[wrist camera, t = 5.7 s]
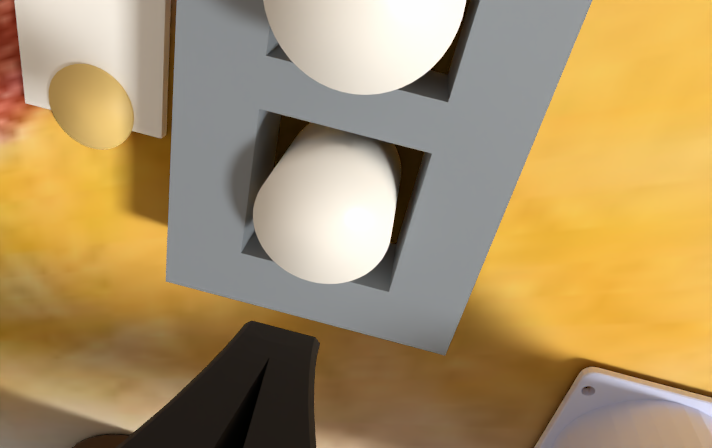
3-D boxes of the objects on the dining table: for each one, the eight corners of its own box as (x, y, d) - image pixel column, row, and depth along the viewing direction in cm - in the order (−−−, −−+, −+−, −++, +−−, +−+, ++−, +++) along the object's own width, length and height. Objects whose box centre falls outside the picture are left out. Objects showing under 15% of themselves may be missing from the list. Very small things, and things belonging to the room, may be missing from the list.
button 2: (385, 231, 20) (373, 298, 16) (280, 204, 20) (246, 264, 16) (414, 131, 18) (407, 182, 14) (297, 101, 18) (262, 144, 14)
